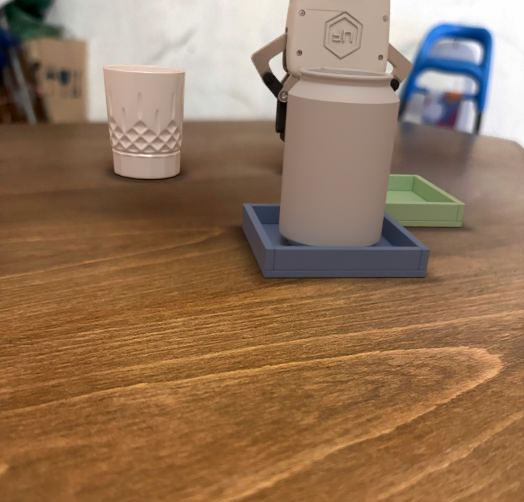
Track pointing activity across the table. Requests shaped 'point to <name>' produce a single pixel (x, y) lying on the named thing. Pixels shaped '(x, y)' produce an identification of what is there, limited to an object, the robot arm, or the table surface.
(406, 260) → the tray blue
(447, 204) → the tray green
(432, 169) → the table surface
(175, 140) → the white cup
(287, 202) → the can
